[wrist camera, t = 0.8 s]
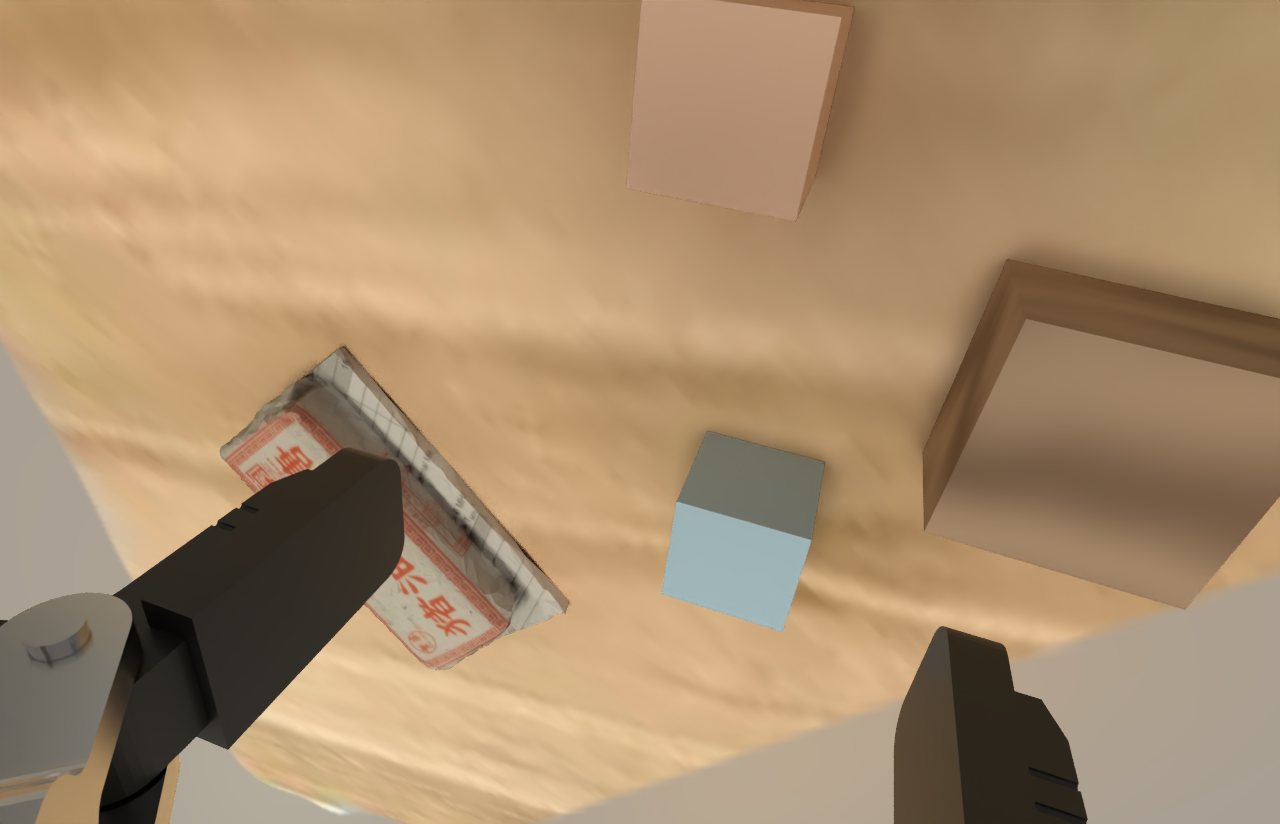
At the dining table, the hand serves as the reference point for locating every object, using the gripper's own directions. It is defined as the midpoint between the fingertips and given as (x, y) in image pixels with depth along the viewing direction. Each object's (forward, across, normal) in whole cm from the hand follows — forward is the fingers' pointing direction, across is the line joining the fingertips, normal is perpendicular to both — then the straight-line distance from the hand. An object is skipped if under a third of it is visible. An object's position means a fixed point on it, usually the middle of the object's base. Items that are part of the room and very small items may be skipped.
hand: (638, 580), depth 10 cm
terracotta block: (+17, +2, -5) cm, 18 cm away
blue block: (+19, -1, +11) cm, 22 cm away
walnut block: (+18, -11, +3) cm, 21 cm away
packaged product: (+20, +17, +18) cm, 32 cm away
